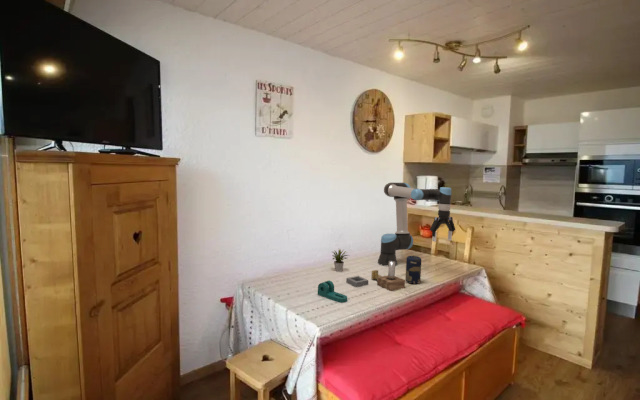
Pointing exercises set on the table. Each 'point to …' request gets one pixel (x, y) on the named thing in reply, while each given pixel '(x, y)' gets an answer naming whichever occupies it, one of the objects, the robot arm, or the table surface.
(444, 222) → the robot arm
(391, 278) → the grey rounded rod
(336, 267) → the house plant
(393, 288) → the socket block
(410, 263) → the canister
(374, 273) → the yellow t-shaped block
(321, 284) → the bracket
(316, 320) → the table surface
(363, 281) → the grey square frame
